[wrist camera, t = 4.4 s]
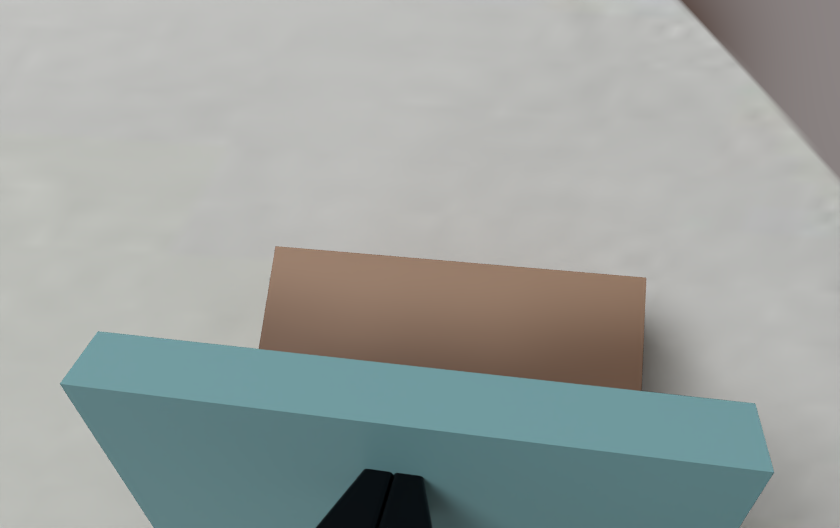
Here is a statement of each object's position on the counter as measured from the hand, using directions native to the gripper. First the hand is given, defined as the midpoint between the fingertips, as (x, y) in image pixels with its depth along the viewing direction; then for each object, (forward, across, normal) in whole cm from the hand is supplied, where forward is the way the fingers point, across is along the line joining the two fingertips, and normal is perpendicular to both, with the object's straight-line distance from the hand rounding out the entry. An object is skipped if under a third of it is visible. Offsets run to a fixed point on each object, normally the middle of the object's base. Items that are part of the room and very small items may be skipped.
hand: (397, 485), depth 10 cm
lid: (+1, 0, +2) cm, 2 cm away
